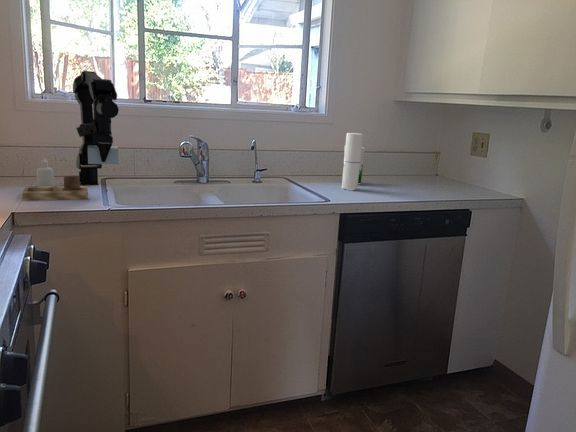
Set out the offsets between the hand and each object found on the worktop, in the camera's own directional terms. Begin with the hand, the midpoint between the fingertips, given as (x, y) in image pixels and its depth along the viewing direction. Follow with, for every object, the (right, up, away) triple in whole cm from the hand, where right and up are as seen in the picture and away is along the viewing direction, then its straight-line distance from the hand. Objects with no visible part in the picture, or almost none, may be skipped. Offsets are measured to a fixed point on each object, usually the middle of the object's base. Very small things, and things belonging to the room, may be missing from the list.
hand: (103, 160), depth 175 cm
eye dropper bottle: (-23, -10, +5) cm, 25 cm away
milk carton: (+97, -4, +63) cm, 116 cm away
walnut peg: (-10, -13, -3) cm, 16 cm away
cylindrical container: (+94, -8, +47) cm, 105 cm away
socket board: (-14, -13, -5) cm, 20 cm away
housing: (0, -1, 0) cm, 1 cm away
